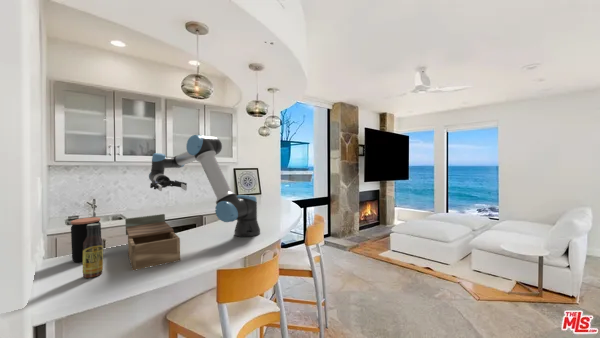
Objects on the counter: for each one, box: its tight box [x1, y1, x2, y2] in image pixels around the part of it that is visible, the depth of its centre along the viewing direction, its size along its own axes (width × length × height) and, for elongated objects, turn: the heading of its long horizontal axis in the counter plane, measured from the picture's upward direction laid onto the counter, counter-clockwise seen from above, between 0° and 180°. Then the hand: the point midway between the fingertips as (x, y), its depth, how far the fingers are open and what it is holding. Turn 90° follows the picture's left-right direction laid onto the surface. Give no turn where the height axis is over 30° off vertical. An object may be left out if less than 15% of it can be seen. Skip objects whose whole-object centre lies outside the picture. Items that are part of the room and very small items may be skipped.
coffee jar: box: [70, 217, 102, 264], centre depth 123 cm, size 11×11×18 cm
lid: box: [124, 213, 175, 238], centre depth 134 cm, size 25×18×8 cm
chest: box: [127, 232, 181, 271], centre depth 123 cm, size 22×18×10 cm
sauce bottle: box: [82, 224, 104, 279], centre depth 104 cm, size 6×6×20 cm
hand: (174, 188), depth 154 cm, fingers open, 13 cm apart
